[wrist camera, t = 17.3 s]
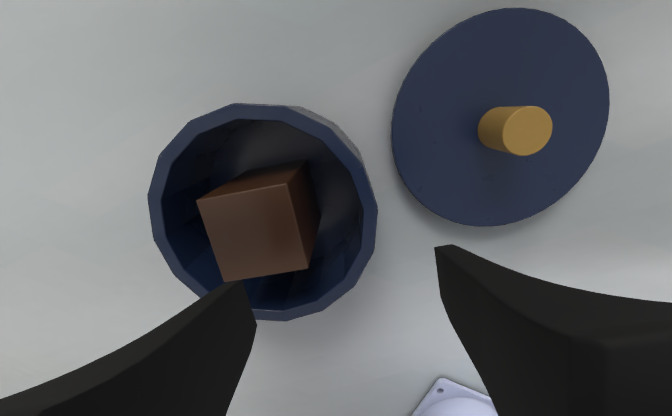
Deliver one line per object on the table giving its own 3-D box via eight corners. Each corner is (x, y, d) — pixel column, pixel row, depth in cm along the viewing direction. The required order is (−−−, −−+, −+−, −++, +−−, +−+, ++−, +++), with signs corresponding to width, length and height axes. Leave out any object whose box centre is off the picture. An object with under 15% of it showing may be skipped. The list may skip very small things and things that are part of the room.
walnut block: (321, 219, 21) (308, 269, 15) (262, 229, 22) (223, 283, 15) (307, 158, 20) (286, 182, 13) (245, 170, 20) (194, 200, 14)
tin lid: (516, 249, 22) (555, 281, 18) (356, 173, 21) (357, 189, 16) (641, 74, 18) (726, 63, 14) (456, -29, 17) (490, -73, 13)
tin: (326, 292, 23) (319, 350, 18) (181, 230, 22) (125, 270, 17) (399, 154, 20) (419, 170, 14) (234, 73, 19) (185, 58, 13)
